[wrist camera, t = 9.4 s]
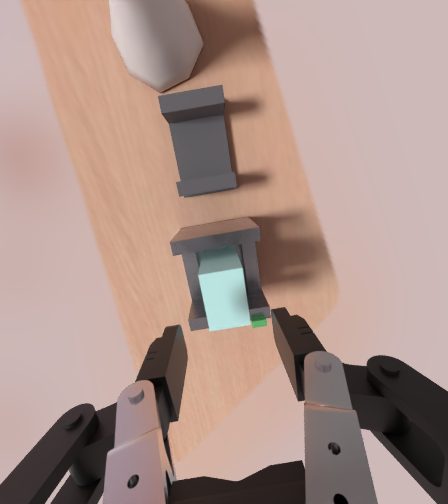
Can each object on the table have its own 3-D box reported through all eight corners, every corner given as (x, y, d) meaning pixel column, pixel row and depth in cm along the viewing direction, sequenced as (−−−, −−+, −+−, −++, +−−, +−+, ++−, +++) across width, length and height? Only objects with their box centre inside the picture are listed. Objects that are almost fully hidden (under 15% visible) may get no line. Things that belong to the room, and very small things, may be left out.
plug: (203, 246, 23) (197, 275, 15) (233, 241, 23) (243, 267, 15) (210, 286, 24) (209, 331, 17) (239, 281, 24) (251, 324, 17)
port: (181, 228, 24) (168, 244, 17) (247, 216, 24) (261, 228, 17) (197, 299, 26) (190, 338, 20) (257, 289, 26) (272, 324, 19)
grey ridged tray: (166, 108, 21) (157, 93, 18) (220, 99, 21) (221, 81, 18) (184, 197, 23) (179, 199, 20) (234, 188, 23) (237, 189, 20)
